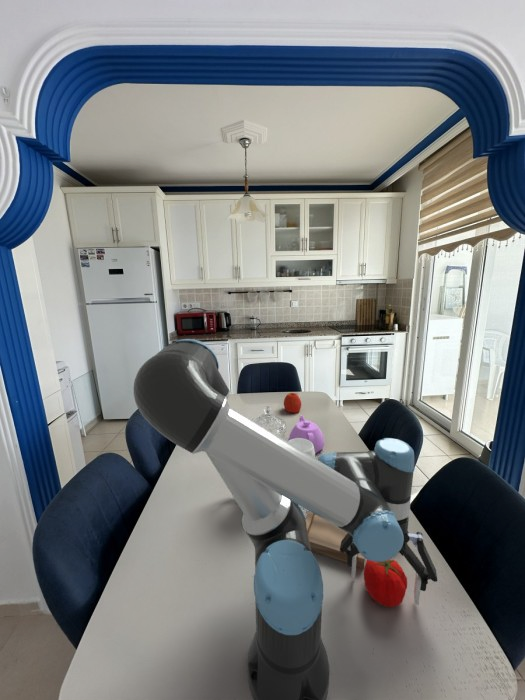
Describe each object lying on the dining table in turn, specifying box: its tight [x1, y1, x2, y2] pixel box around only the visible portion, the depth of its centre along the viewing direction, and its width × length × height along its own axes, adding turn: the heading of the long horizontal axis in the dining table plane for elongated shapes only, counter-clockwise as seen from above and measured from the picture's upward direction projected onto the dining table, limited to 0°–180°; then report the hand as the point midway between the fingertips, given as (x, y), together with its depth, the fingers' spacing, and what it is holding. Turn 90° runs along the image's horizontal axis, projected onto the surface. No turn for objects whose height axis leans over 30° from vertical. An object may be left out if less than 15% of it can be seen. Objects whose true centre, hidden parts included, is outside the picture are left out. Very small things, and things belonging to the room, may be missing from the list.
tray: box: [305, 510, 366, 570], centre depth 86 cm, size 17×17×3 cm
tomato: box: [363, 558, 408, 608], centre depth 69 cm, size 9×10×8 cm
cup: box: [287, 438, 316, 459], centre depth 107 cm, size 11×11×15 cm
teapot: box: [288, 415, 325, 454], centre depth 131 cm, size 22×16×12 cm
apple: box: [283, 392, 302, 414], centre depth 169 cm, size 10×10×10 cm
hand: (383, 587), depth 70 cm, fingers open, 13 cm apart
